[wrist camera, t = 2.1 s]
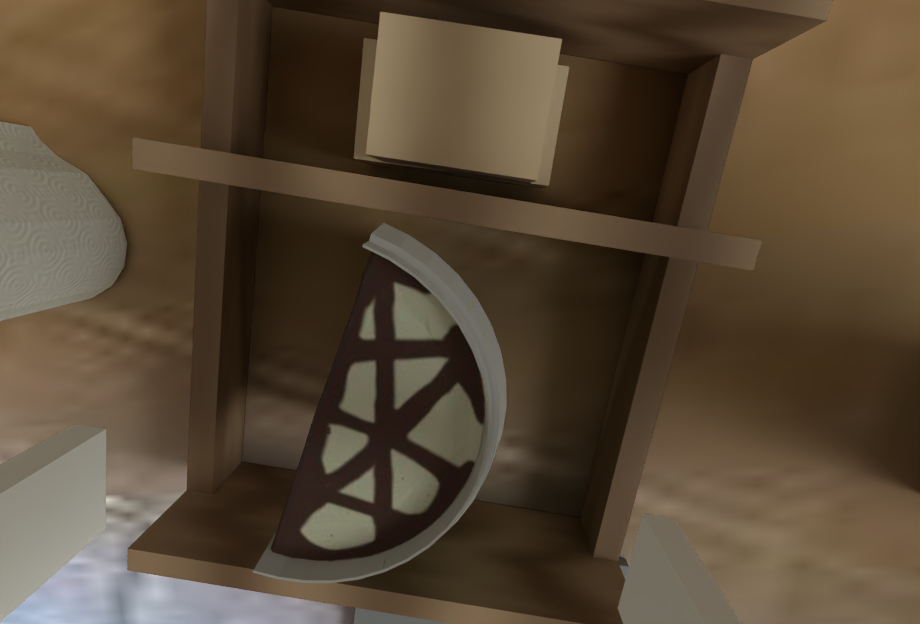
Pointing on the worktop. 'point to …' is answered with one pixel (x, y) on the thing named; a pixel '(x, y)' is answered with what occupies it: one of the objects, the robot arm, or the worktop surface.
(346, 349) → the food container
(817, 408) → the worktop surface
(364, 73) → the offcut lower
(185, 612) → the worktop surface
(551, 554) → the rack
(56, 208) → the paper towel roll
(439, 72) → the offcut upper
